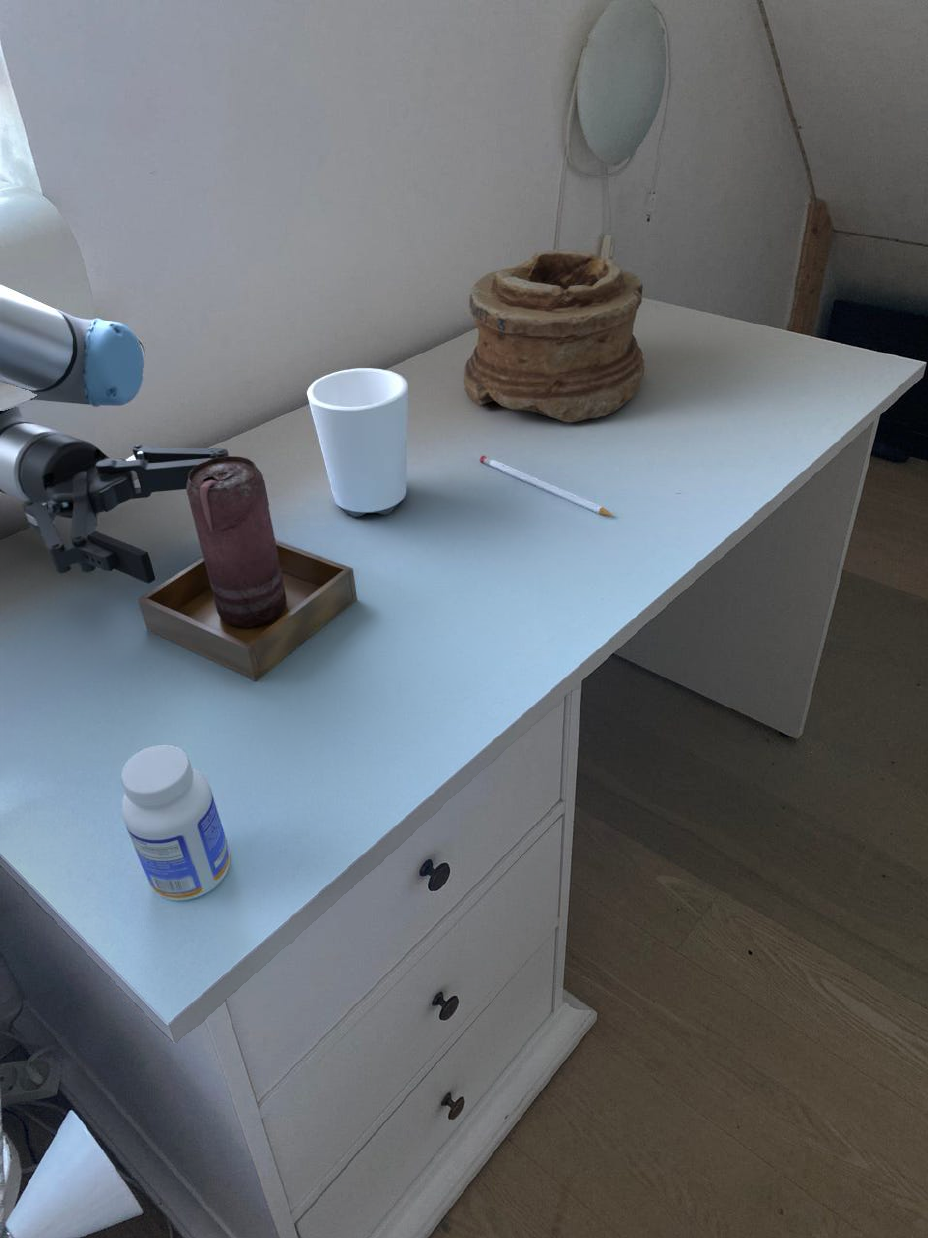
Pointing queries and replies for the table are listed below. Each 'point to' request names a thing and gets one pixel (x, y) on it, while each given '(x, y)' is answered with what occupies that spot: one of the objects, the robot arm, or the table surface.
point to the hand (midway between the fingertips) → (209, 529)
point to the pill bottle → (173, 823)
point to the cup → (363, 437)
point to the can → (237, 540)
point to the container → (556, 336)
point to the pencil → (545, 486)
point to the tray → (196, 625)
